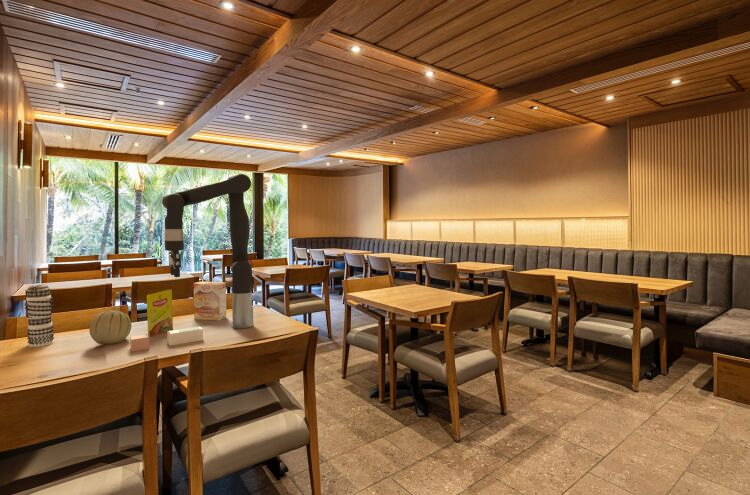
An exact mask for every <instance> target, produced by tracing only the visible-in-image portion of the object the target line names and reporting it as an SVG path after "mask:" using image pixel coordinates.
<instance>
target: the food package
mask: <svg viewBox="0 0 750 495" xmlns="http://www.w3.org/2000/svg"><path fill="white" fill-rule="evenodd" d="M146 314H147V334H148V336H149V338H151V337H153V336H157V335H159V334H162V333H167V331H172V330H174V318H173V316H174V315H173V290H172V289H166V290H162V291H158V292H154V293H150V294H147V295H146Z"/></svg>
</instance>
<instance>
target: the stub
mask: <svg viewBox="0 0 750 495" xmlns="http://www.w3.org/2000/svg"><path fill="white" fill-rule="evenodd" d="M129 338H130V340H129V341H130V351H131V353H133V352H138V351H144V350H149V349H150V337H149V336H148V333H146V334H139V335H132V336H130V337H129Z"/></svg>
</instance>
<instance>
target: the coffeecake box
mask: <svg viewBox="0 0 750 495" xmlns="http://www.w3.org/2000/svg"><path fill="white" fill-rule="evenodd" d="M226 286H227V284H226V282H225V281H224V282H222V281H221V282H219V281H197V282H194V283H193V316H194V317H193V320H204V321H222V320H224V319H226V318H227V287H226Z"/></svg>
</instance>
